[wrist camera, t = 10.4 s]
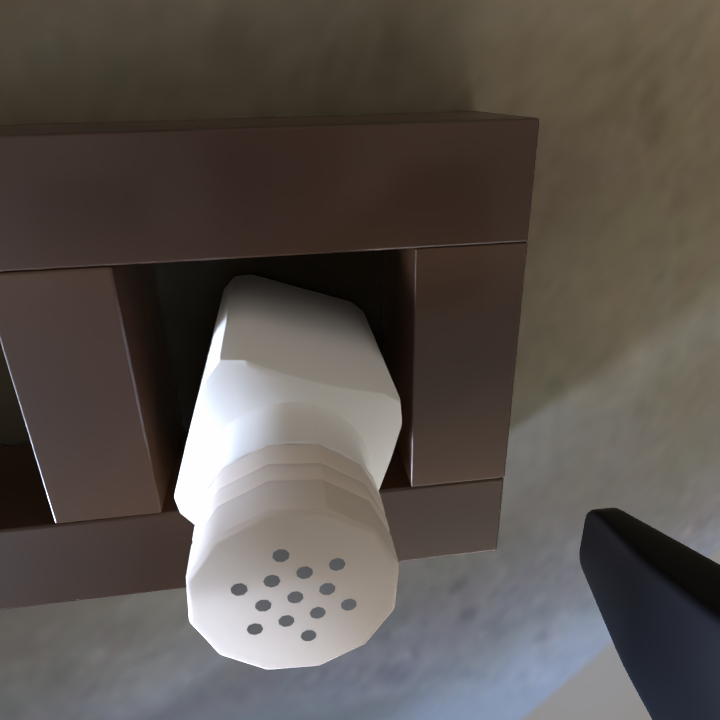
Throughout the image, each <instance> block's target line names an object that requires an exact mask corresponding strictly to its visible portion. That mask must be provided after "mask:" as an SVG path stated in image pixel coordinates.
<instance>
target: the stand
mask: <svg viewBox="0 0 720 720" xmlns="http://www.w3.org/2000/svg"><path fill="white" fill-rule="evenodd" d="M538 128H539V119H538V118H533V117H524V116H515V115H506V114H497V113H488V112H479V111H463V112H429V113H396V114H362V115H329V116H295V117H262V118H228V119H195V120H161V121H128V122H94V123H61V124H27V125H0V343H1V346H2V349H3V353H4V356H5V359H6V363H7V366H8V369H9V373H10V376H11V379H12V382H13V386H14V389H15V392H16V396H17V399H18V402H19V405H20V409H21V412H22V415H23V419H24V422H25V425H26V428H27V432H28V435H29V438H30V442H31V443H30V444H19V445H8V446H0V610H1V609H10V608H18V607H27V606H35V605H43V604H52V603H60V602H68V601H77V600H85V599H93V598H102V597H110V596H118V595H127V594H135V593H143V592H152V591H160V590H169V589H177V588H185V587H186V574H187V568H188V562H189V556H190V550H191V545H192V544H193V541H192V538H193V533H194V527H195V524H193V523H192V522H191V521H190V520H188V519H187V518H186V517H185V516H183V515H182V514H181V513H180V511H179V509H178V506H177V504H176V501H175V498H174V494H175V489H176V485H177V481H178V476H179V472H180V468H181V464H182V459H183V455H184V451H185V446H186V442H187V438H188V434H189V429H187V430H182V429H183V426H182V420H181V414H180V408H179V402H178V397H177V391H176V385H175V379H174V374H173V368H172V362H171V356H170V351H169V345H168V339H167V333H166V327H165V322H164V316H163V310H162V304H161V299H160V293H159V287H158V281H157V276H156V270H155V264H154V263H164V262H181V261H199V260H217V259H234V258H252V257H269V256H287V255H304V254H322V253H339V252H357V251H374V250H383V282H384V362H385V364H386V367H387V369H388V371H389V374H390V376H391V378H392V381H393V383H394V386H395V388H396V390H397V393H398V395H399V397H400V404H401V415H402V426H401V429H400V432H399V435H398V439H397V442H396V445H395V448H394V451H393V454H392V457H391V460H390V463H389V465H388V468H387V471H386V473H385V476H384V479H383V481H382V484H381V486H380V489H379V493H380V497H381V500H382V504H383V507H384V511H385V517H386V518H387V522H388V526H389V529H390V532H389V533H390V535H391V537H392V540H393V544H394V548H395V551H396V555H397V559H398V562H402V561H411V560H419V559H428V558H436V557H444V556H453V555H461V554H469V553H478V552H486V551H494V550H496V549H497V541H498V530H499V520H500V510H501V500H502V490H503V479H504V478H503V477H504V475H505V465H506V455H507V445H508V435H509V425H510V414H511V404H512V394H513V384H514V374H515V364H516V354H517V344H518V334H519V323H520V313H521V303H522V293H523V283H524V273H525V263H526V253H527V242H525V241H527V239H528V229H529V219H530V209H531V199H532V189H533V179H534V169H535V159H536V148H537V138H538Z"/></svg>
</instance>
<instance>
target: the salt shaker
mask: <svg viewBox="0 0 720 720" xmlns="http://www.w3.org/2000/svg"><path fill="white" fill-rule="evenodd" d="M401 426H402V415H401V404H400V397H399V395H398V393H397V390H396V388H395V386H394V383H393V381H392V378H391V376H390V374H389V371H388V369H387V367H386V364H385V362H384V359H383V357H382V355H381V352H380V350H379V348H378V345H377V343H376V340H375V338H374V336H373V333H372V331H371V329H370V326H369V324H368V321H367V319H366V317H365V314H364V312H363V311H362V310H361V309H359V308H358V307H357V306H356V305H354V304H353V303H352V302H350V301H346V300H342V299H339V298H335V297H332V296H328V295H324V294H321V293H317V292H313V291H310V290H306V289H303V288H299V287H295V286H292V285H288V284H285V283H281V282H277V281H274V280H270V279H266V278H263V277H259V276H255V275H242V276H234V277H233V279H232V280H231V281H230V282H229V284H228V285H227V286H226V287H225V289H224V292H223V295H222V299H221V303H220V307H219V311H218V315H217V319H216V323H215V327H214V331H213V335H212V339H211V343H210V346H209V350H208V354H207V358H206V362H205V366H204V370H203V374H202V378H201V382H200V386H199V391H198V395H197V399H196V404H195V408H194V412H193V416H192V421H191V425H190V429H189V434H188V438H187V442H186V446H185V451H184V455H183V459H182V464H181V468H180V472H179V476H178V481H177V485H176V489H175V494H174V498H175V501H176V504H177V506H178V509H179V511H180V513H181V514H182V515H183V516H185V517H186V518H187V519H188V520H190V521H191V522H192V523H193V524H195V527H194V533H193V538H192V541H193V544H192V545H191V550H190V556H189V562H188V568H187V574H186V587H187V600H188V613H189V621H190V623H191V624H192V625H193V626H194V627H195V628H196V629H197V630H198V632H199V633H200V634H201V635H202V636H203V637H204V638H205V639H206V640H207V641H208V642H209V643H210V644H211V645H212V646H213V647H214V648H215V649H216V651H217V652H218V653H219V654H220V655H223V656H226V657H229V658H232V659H235V660H239V661H242V662H245V663H248V664H251V665H254V666H258V667H261V668H264V669H267V670H269V669H282V668H294V667H307V666H319V665H321V664H324V663H326V662H328V661H330V660H332V659H334V658H336V657H338V656H340V655H343V654H345V653H347V652H349V651H351V650H353V649H355V648H357V647H359V646H362V645H364V644H365V643H366V642H367V641H368V640H369V638H370V637H371V636H372V635H373V634H374V632H375V631H376V630H377V629H378V628H379V626H380V625H381V624H382V623H383V622H384V621H385V619H386V618H387V617H388V616H389V615H390V613H391V612H392V611H393V610H394V607H395V600H396V592H397V583H398V575H399V562H398V559H397V555H396V551H395V548H394V544H393V540H392V537H391V535H390V533H389V532H390V529H389V526H388V522H387V518H386V517H385V511H384V507H383V504H382V500H381V497H380V493H379V489H380V486H381V484H382V481H383V479H384V476H385V473H386V471H387V468H388V465H389V463H390V460H391V457H392V454H393V451H394V448H395V445H396V442H397V439H398V435H399V432H400V429H401Z"/></svg>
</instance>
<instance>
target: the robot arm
mask: <svg viewBox="0 0 720 720" xmlns="http://www.w3.org/2000/svg"><path fill="white" fill-rule="evenodd" d="M580 563H581V566H582V569H583V572H584V574H585V577H586V579H587V581H588V584H589V586H590V588H591V591H592V593H593V596H594V598H595V600H596V603H597V605H598V607H599V610H600V612H601V615H602V617H603V619H604V622H605V624H606V626H607V629H608V631H609V634H610V636H611V638H612V641H613V643H614V645H615V648H616V650H617V652H618V654H619V656H620V659H621V661H622V663H623V666H624V667H625V669H626V671H627V673H628V675H629V677H630V679H631V681H632V683H633V685H634V686H635V688H636V690H637V692H638V694H639V696H640V698H641V700H642V701H643V703H644V705H645V706H646V708H647V711H648V712H649V714H650V716H651V718H652V720H720V565H719V564H718V563H716V562H714V561H712V560H710V559H709V558H707V557H705V556H703V555H701V554H700V553H698V552H696V551H694V550H692V549H690V548H689V547H687V546H685V545H683V544H681V543H680V542H678V541H676V540H674V539H672V538H671V537H669V536H667V535H665V534H663V533H662V532H660V531H658V530H656V529H654V528H652V527H651V526H649V525H647V524H645V523H643V522H642V521H640V520H638V519H636V518H634V517H633V516H631V515H629V514H627V513H625V512H624V511H622V510H620V509H617V508H604V509H595V510H591V511H589V512H588V514H587V515H586V519H585V524H584V529H583V535H582V541H581V546H580Z"/></svg>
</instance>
